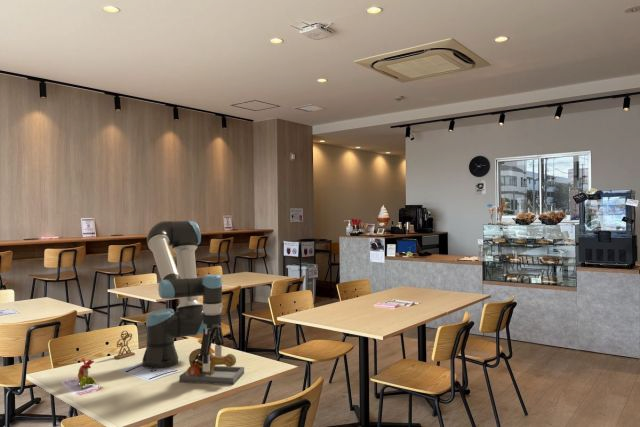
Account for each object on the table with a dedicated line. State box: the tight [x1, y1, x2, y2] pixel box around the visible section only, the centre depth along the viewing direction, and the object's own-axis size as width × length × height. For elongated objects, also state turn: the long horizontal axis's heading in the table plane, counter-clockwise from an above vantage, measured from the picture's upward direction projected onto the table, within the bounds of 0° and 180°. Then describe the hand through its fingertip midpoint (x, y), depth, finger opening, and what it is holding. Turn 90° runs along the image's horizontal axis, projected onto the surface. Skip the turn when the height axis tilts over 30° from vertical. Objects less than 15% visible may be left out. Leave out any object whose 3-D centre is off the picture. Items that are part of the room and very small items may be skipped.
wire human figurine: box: [113, 330, 136, 360], centre depth 227 cm, size 9×4×12 cm, turn 149°
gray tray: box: [179, 365, 245, 386], centre depth 196 cm, size 22×14×2 cm, turn 82°
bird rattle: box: [77, 357, 97, 388], centre depth 188 cm, size 6×11×9 cm
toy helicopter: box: [187, 339, 237, 376], centre depth 193 cm, size 8×21×14 cm, turn 70°
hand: (212, 366), depth 196 cm, fingers open, 13 cm apart
